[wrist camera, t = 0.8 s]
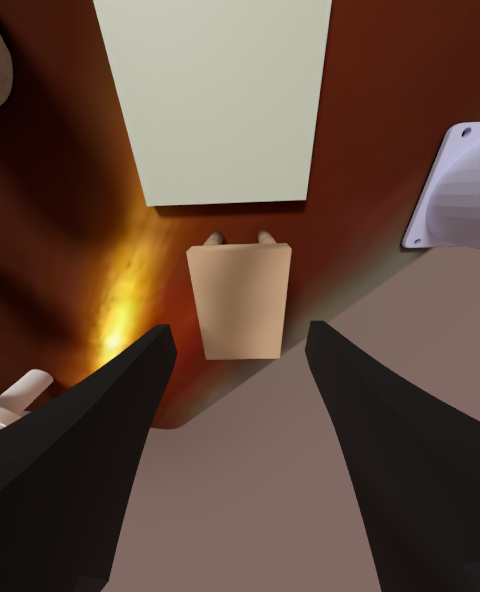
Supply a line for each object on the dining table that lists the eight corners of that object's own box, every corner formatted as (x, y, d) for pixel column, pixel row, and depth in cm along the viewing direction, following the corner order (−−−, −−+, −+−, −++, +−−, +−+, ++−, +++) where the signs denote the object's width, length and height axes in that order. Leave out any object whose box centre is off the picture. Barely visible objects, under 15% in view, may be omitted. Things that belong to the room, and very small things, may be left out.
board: (328, -21, 9) (337, -43, 8) (301, 199, 14) (305, 199, 13) (101, -5, 9) (86, -25, 9) (152, 205, 14) (147, 206, 14)
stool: (271, 227, 15) (291, 248, 9) (267, 306, 19) (279, 358, 13) (208, 229, 15) (186, 252, 9) (217, 307, 19) (206, 359, 13)
